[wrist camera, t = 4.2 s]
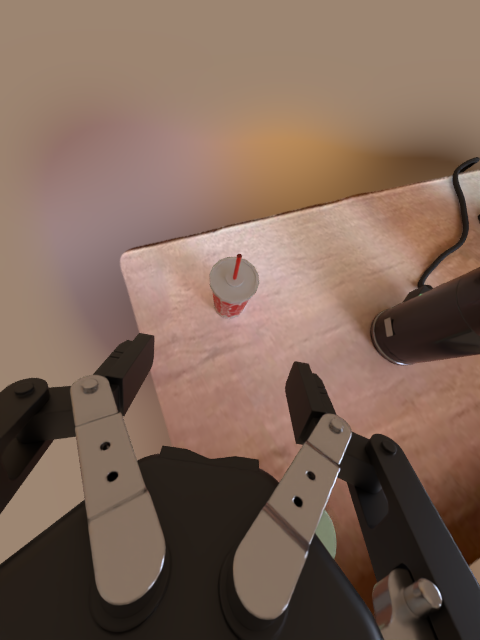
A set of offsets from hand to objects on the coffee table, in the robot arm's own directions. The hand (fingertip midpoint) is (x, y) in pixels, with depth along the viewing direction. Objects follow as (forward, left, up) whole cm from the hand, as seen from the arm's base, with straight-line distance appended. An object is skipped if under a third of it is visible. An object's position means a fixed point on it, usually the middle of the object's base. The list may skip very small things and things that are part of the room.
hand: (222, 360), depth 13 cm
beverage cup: (-10, -6, -21) cm, 24 cm away
